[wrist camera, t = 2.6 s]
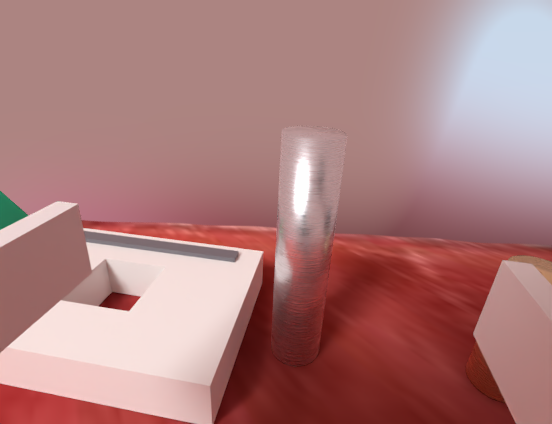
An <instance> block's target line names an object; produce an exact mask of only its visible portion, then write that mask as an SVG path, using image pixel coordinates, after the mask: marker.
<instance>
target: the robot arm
mask: <svg viewBox="0 0 552 424" xmlns="http://www.w3.org/2000/svg"><path fill="white" fill-rule="evenodd" d="M91 274H92V269H91V264H90V259H89V254H88V250H87V245H86V240H85V235H84V230H83V225H82V220H81V216H80V211H79V206H78V204H75V203H67V202H60V201H57V202H55V203H53V204H51V205H49V206H47V207H45V208H43V209H41V210H39V211H37V212H35V213H33V214H31V215H29V216H27V217H25V218H23V219H21V220H19V221H17V222H15V223H13V224H11V225H9V226H7V227H5V228H3V229H1V230H0V353H1V352H2V351H3V350H4V349H5V348H6V347H8V346H9V345H10V344H11V343H12V342H13V341H14V340H16V339H17V338H18V337H19V336H20V335H21V334H23V333H24V332H25V331H26V330H27V329H28V328H29V327H31V326H32V325H33V324H34V323H35V322H36V321H37V320H39V319H40V318H41V317H42V316H43V315H44V314H46V313H47V312H48V311H49V310H50V309H51V308H52V307H54V306H55V305H56V304H57V303H58V302H59V301H61V300H62V299H63V298H64V297H65V296H66V295H67V294H69V293H70V292H71V291H72V290H73V289H74V288H76V287H77V286H78V285H79V284H80V283H81V282H82V281H84V280H85V279H86V278H87V277H88V276H89V275H91ZM473 335H474V337H475V339H476V341H477V344H478V346H479V348H480V350H481V352H482V354H483V356H484V358H485V360H486V362H487V364H488V366H489V369H490V371H491V373H492V375H493V377H494V379H495V381H496V383H497V385H498V387H499V389H500V392H501V394H502V396H503V398H504V400H505V402H506V404H507V406H508V408H509V410H510V412H511V415H512V417H513V419H514V421H515V423H516V424H552V285H551V284H550V283H549V282H548V280H547V279H546V278H545V277H544V276H543V275H542V274H541V273H540V272H539V271H538V270H537V269H536V268H535V266H534V265H533V264H530V263H522V262H514V261H507V260H502V262H501V265H500V267H499V270H498V272H497V275H496V277H495V280H494V283H493V285H492V288H491V290H490V293H489V295H488V298H487V300H486V303H485V305H484V308H483V310H482V313H481V315H480V318H479V320H478V323H477V325H476V328H475V330H474V333H473Z"/></svg>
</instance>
